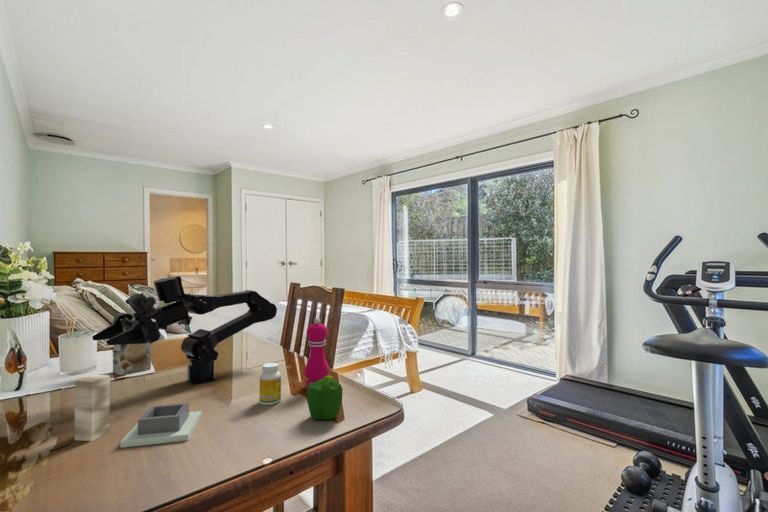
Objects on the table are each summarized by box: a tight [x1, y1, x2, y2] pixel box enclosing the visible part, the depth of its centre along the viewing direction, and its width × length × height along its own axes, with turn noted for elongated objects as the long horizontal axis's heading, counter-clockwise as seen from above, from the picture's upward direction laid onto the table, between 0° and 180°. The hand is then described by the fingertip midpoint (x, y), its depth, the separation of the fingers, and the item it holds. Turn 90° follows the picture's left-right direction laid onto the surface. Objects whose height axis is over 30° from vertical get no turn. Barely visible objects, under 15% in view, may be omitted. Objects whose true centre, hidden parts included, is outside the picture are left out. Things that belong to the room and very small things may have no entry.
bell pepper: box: [306, 374, 343, 421], centre depth 86 cm, size 8×8×10 cm
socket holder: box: [119, 402, 203, 449], centre depth 78 cm, size 12×12×4 cm
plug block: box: [73, 374, 111, 442], centre depth 76 cm, size 4×4×12 cm
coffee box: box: [112, 343, 152, 376], centre depth 121 cm, size 9×6×16 cm
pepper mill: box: [303, 317, 330, 389], centre depth 106 cm, size 7×7×20 cm
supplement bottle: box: [258, 362, 282, 406], centre depth 95 cm, size 5×5×10 cm
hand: (99, 340), depth 90 cm, fingers open, 9 cm apart
